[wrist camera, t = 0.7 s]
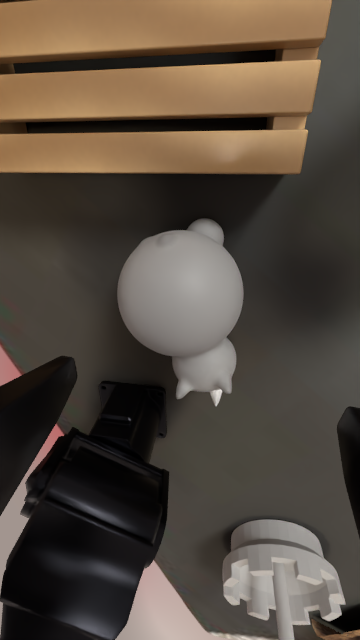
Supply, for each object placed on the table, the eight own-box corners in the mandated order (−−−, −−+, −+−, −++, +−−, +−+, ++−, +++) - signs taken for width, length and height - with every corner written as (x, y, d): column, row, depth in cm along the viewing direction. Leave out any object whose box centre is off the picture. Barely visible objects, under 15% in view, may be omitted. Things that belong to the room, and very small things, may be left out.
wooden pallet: (285, 174, 17) (300, 174, 13) (16, 172, 19) (-31, 172, 16) (322, -49, 13) (357, -135, 9) (-29, -15, 15) (-106, -73, 12)
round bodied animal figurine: (177, 366, 25) (155, 448, 17) (129, 233, 20) (69, 268, 13) (259, 354, 23) (273, 440, 16) (228, 203, 18) (227, 224, 11)
